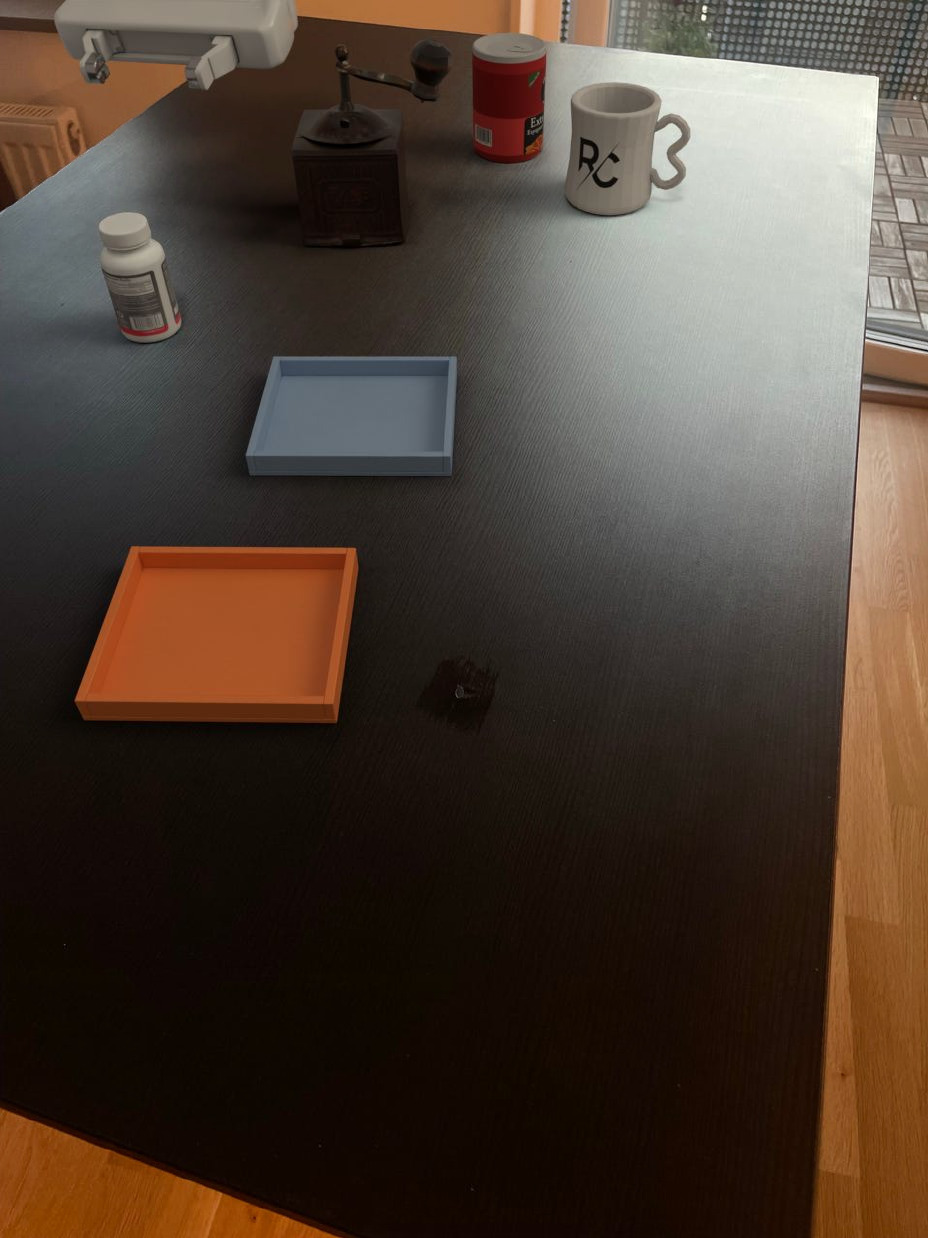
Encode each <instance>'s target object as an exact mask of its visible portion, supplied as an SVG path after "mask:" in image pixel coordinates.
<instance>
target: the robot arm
mask: <svg viewBox="0 0 928 1238" xmlns="http://www.w3.org/2000/svg"><path fill="white" fill-rule="evenodd" d="M53 21H54V25H55V28H56V30H57V33H58V36H59V38H60V40H61V42H62V44H63V47H64V48H65V50H66V52H67V54H68V55H69V57H71V58H72V59H74V60H80V61H79V62H78V63H79V64H78V65H79V67H78V68H79V71H80V73H81V75H82V78H83V80H84V82H85V83H86V84H94V85H96V84H98V85H100V84H101V85H103V84H105V83H106V80H108V78H109V77H110V76H111V71H110V69H109V66H108V65H107V64H106V63H109V62H118V63H119V62H120V63H121V62H122V63H139V64H140V63H141V64H158V65H160V64H161V65H176V66H177V65H178V66H179V65H180V66H185V67H184V76H185V79H186V80H187V85H188V87H189V89H190V90H191V89H192V90H202V91H208V90H209V89H210V87H211V85H213V82H214V80H217V79H219V78H221V77H223V76H225V75H227V74H228V73H230V72H232V71H234V70H235V68H237V69H254V70H255V69H256V70H272V69H274V68H277V67H278V66H280V65H283V63H284V62H285V61H286V59H287V57H288V55H289V54H290V51H291V49H292V47H293V44H294V40H295V32H296V30H297V28H298V26H299V20H298V11H297V4H296V0H65V1H64V2H63V3H62V4H61V5H60V6H59V7H58V8H57V9H56V11H55V13H54V14H53Z"/></svg>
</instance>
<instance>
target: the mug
mask: <svg viewBox="0 0 928 1238" xmlns="http://www.w3.org/2000/svg"><path fill="white" fill-rule="evenodd" d="M661 107H662V98H661V97H660V95H659V94H658V92H656V91H655V90H653V89H651V88H648V87H646V86H643V85H640V84H635V83H629V82H617V81H616V82H614V81H612V82H610V81H609V82H600V83H592V84H588V85H585V86H583V87H580V88H579V89H577V90H576V91H575V92H574V93H573V94H572V95H571V97H570V118H571V120H570V121H571V138H570V149H569V160H568V165H567V170H566V176H565V181H564V194H565V197H566V198H567V200H568V202H569V203H570V204H571V205H572V206H573V207H575V208H577V209H578V210H580V211H584V212H586V213H589V214H594V215H600V216H601V215H603V216H618V215H625V214H629V213H632V212H636V211H638V210H639V209H641V208H642V207H644V206H645V205H646V204H647V203H648V202H649V200H650V199H651V195H652V190H653V185H654V186H655V187H656V188H657V189H660V190H664V191H668V190H671V189H674V188H675V187H677V186H679V185H680V184H681V183H682V182H683V181H684V179H685V178H686V175H687V167H686V165H685V164H684V162H683V160H681V159H680V157H678V156H677V154H678V153H679V152H680V151H681V150H683V149H684V148H685V147H686V146H687V145H688V143H689V141H690V139H691V127H690V126H689V124H688V122H687V121H686V120H685V119H684V118H683V117H682V116H681V115H679V114H675V113H669V114H665V115H663V116H662V117H660V118H659V116H660V112H661ZM670 124H672V125H675V126H676V127H677V128H678V129H679V131H680V132H681V136H680V137H679V138H678V139H677V140H676V141H675V142H673V143H672V144H671V145H670V146H669V147H668V148H667V150H666V157H667V161H668V162H669V163H670V165H671V166H672V167H673V168H674V169H675V170H676V171H677V174H675V175H674V176H673V177H671V178H669V179H667V180H664V179H662V178H661V177H660V175H659V173H658V170H657V169H656V168H653V154H654V153H653V152H654V143H655V134H656V133H657V132H659V131H660V130H663V129H665V128H666V127H667V126H668V125H670Z"/></svg>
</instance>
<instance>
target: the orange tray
mask: <svg viewBox="0 0 928 1238" xmlns="http://www.w3.org/2000/svg"><path fill="white" fill-rule="evenodd" d="M358 561H359V560H358V553H357V548H356V547H298V546H297V547H293V546H292V547H289V546H288V547H287V546H286V547H285V546H284V547H282V546H281V547H280V546H279V547H278V546H277V547H275V546H271V547H270V546H267V547H265V546H254V547H253V546H139V545H136V546H135V545H134V546H133V545H132V546H131V547H130V549H129V552H128V555H127V557H126V559H125V562H124V566H123V568H122V571H121V573H120V576H119V579H118V582H117V585H116V587H115V590H114V593H113V595H112V598H111V601H110V604H109V606H108V609H107V611H106V615H105V617H104V620H103V622H102V624H101V625H102V626H101V627H100V631H99V633H98V637H97V639H96V640H95V641H96V642H95V645H94V646H93V650H92V653H91V655H90V658H89V660H88V663H87V666H86V669H85V671H84V674H83V677H82V680H81V681H80V685H79V688H78V691H77V692H76V695H75V698H74V703H75V705H76V707H77V708H78V711H79V713H80V715H81V717H82V719H83V721H107V722H108V721H111V722H112V721H113V722H118V721H119V722H129V721H130V722H194V723H196V722H197V723H198V722H203V723H205V722H206V723H208V722H209V723H281V724H282V723H285V724H287V723H289V724H291V723H292V724H296V723H297V724H298V723H299V724H337V722H338V717H339V708H340V703H341V697H342V696H341V695H342V689H343V681H344V674H345V666H346V660H347V653H348V645H349V639H350V632H351V624H352V618H353V612H354V611H353V609H354V604H355V603H354V601H355V598H356V597H355V596H356V589H357V583H358V575H359V562H358Z"/></svg>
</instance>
